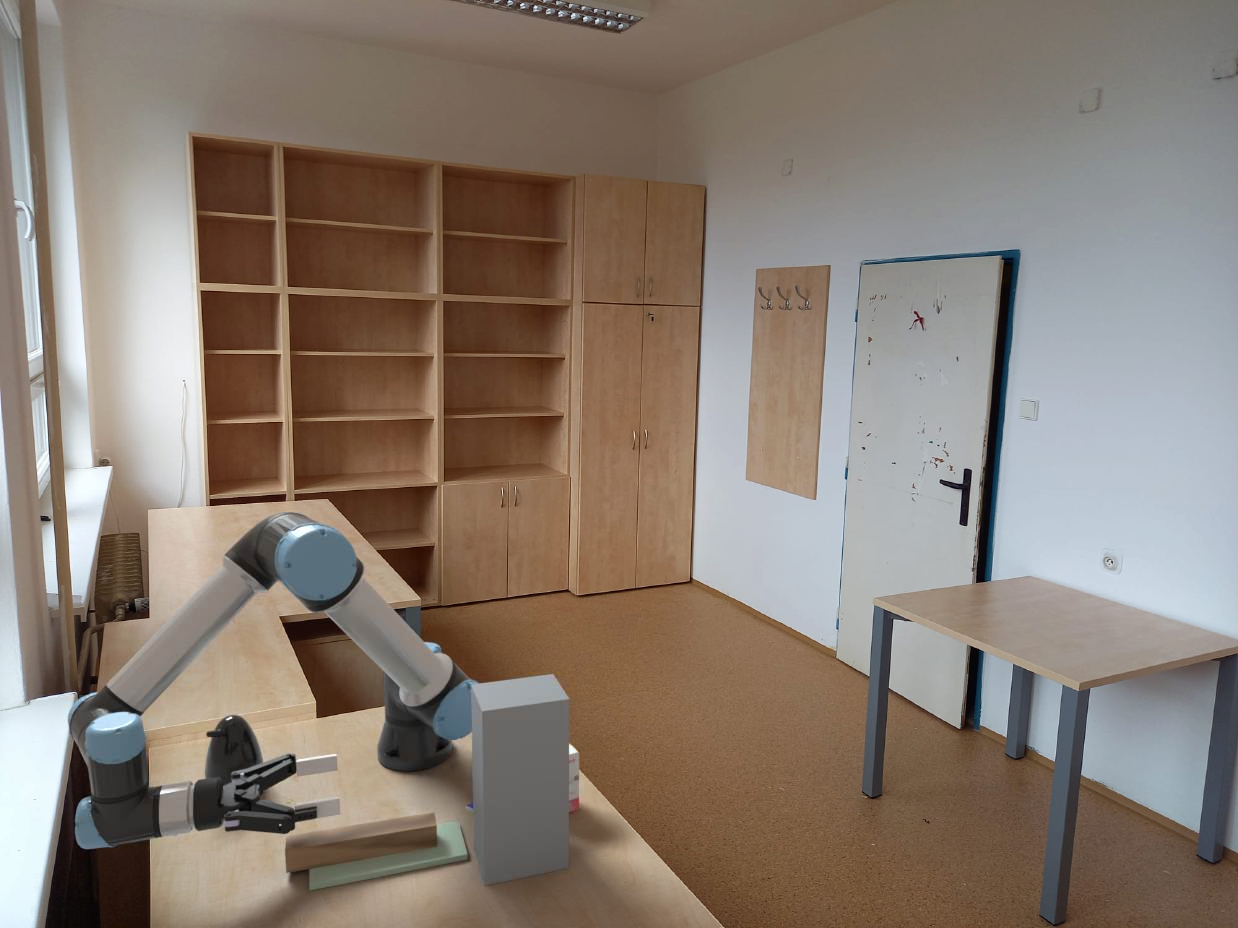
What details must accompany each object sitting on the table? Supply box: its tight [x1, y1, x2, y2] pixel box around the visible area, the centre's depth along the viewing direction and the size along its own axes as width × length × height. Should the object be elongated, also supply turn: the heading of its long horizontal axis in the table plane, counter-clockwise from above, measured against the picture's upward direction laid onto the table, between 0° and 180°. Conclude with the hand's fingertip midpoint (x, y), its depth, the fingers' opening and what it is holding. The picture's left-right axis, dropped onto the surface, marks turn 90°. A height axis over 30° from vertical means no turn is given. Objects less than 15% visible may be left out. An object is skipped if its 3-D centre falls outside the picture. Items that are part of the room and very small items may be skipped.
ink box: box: [569, 742, 580, 813], centre depth 157 cm, size 9×5×12 cm, turn 118°
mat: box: [308, 820, 469, 891], centre depth 143 cm, size 10×25×1 cm, turn 109°
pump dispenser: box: [204, 714, 264, 784], centre depth 161 cm, size 10×10×15 cm
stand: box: [471, 673, 570, 886], centre depth 141 cm, size 10×14×30 cm
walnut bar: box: [284, 812, 437, 874], centre depth 143 cm, size 4×24×4 cm, turn 108°
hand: (338, 782), depth 139 cm, fingers open, 13 cm apart
